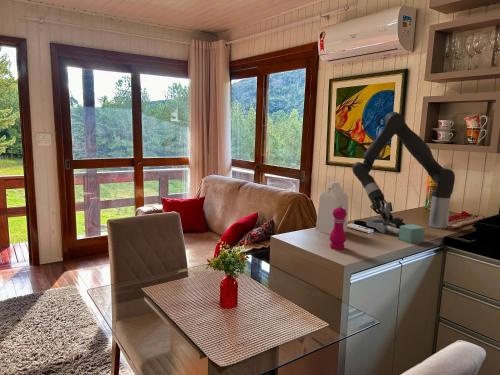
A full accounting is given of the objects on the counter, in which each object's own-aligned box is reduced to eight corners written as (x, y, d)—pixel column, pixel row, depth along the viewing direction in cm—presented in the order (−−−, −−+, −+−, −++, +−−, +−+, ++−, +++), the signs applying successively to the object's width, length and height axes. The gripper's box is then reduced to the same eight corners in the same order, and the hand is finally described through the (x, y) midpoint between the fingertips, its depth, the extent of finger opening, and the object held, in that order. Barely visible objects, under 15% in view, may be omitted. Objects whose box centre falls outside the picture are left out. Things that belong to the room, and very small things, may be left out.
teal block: (411, 237, 185) (413, 224, 184) (423, 241, 179) (424, 227, 177) (398, 239, 181) (400, 225, 180) (410, 243, 175) (411, 229, 173)
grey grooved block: (377, 226, 205) (377, 217, 204) (395, 232, 193) (396, 222, 192) (366, 227, 201) (366, 218, 200) (384, 233, 190) (385, 224, 189)
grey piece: (377, 225, 201) (379, 200, 199) (403, 234, 185) (406, 207, 183) (373, 226, 200) (375, 201, 198) (399, 235, 184) (402, 208, 182)
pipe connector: (388, 214, 212) (412, 220, 200) (387, 223, 213) (411, 229, 201) (376, 217, 205) (400, 223, 193) (375, 226, 206) (399, 232, 194)
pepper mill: (326, 245, 169) (329, 202, 165) (342, 245, 169) (345, 202, 166) (331, 250, 161) (334, 206, 158) (347, 250, 162) (351, 206, 159)
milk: (329, 226, 200) (332, 179, 196) (347, 231, 192) (351, 182, 188) (315, 230, 193) (318, 181, 188) (333, 235, 184) (337, 184, 180)
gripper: (368, 189, 194) (383, 217, 186) (387, 188, 201) (403, 214, 192) (360, 197, 200) (374, 224, 191) (379, 195, 206) (394, 222, 197)
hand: (389, 219), depth 192 cm, fingers closed on grey piece, 3 cm apart
